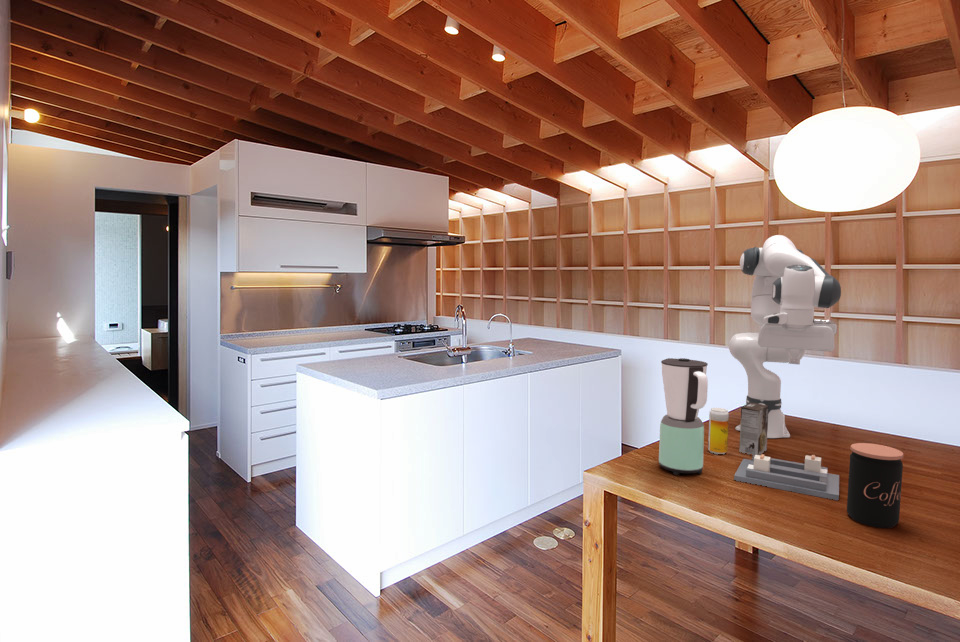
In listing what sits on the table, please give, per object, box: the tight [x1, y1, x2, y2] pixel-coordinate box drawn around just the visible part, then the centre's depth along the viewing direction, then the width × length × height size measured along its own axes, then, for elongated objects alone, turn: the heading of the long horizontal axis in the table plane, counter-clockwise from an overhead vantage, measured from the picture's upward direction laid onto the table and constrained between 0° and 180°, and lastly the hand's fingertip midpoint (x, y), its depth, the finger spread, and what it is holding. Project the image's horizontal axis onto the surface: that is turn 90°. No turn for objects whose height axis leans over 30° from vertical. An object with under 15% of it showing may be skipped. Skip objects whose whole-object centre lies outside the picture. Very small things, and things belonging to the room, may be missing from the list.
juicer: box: [658, 357, 709, 476], centre depth 168 cm, size 19×13×35 cm
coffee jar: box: [846, 442, 904, 529], centre depth 135 cm, size 11×11×18 cm
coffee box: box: [739, 403, 768, 456], centre depth 187 cm, size 9×6×16 cm
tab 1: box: [753, 453, 772, 472], centre depth 161 cm, size 4×4×6 cm
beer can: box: [707, 407, 730, 455], centre depth 186 cm, size 6×6×15 cm
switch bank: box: [733, 455, 840, 501], centre depth 161 cm, size 18×26×4 cm
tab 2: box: [804, 454, 822, 473], centre depth 161 cm, size 4×4×6 cm
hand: (794, 363), depth 165 cm, fingers closed
